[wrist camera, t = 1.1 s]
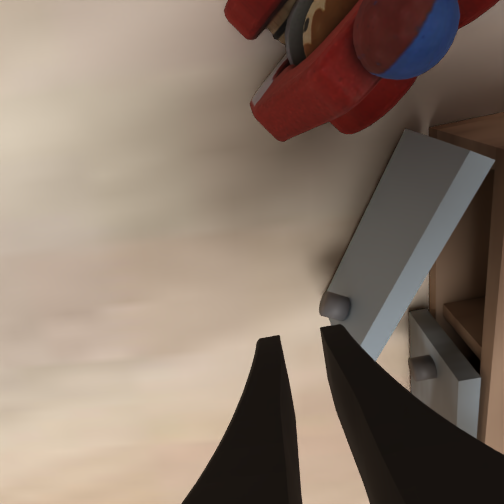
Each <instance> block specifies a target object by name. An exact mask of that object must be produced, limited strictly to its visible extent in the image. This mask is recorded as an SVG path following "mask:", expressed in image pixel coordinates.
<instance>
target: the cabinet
mask: <svg viewBox="0 0 504 504" xmlns="http://www.w3.org/2000/svg"><path fill="white" fill-rule="evenodd" d="M429 137H432V138H435V139H438V140H441V141H444V142H447V143H450V144H453V145H455V146H458V147H461V148H464V149H467V150H470V151H473V152H475V153H478V154H481V155H483V156H486V157H489V158H491V159H494V160H495V162H494V164H493V165H492V167H491V169H490V170H489V172H488V174H487V175H486V177H485V179H484V180H483V182H482V184H481V185H480V187H479V189H478V190H477V192H476V194H475V195H474V197H473V199H472V200H471V202H470V204H469V205H468V207H467V209H466V211H465V212H464V214H463V216H462V217H461V219H460V221H459V222H458V224H457V226H456V227H455V229H454V231H453V232H452V234H451V236H450V237H449V239H448V241H447V242H446V244H445V246H444V247H443V249H442V251H441V252H440V254H439V256H438V257H437V259H436V261H435V263H434V264H433V266H432V268H431V269H430V271H429V311H428V310H427V309H421V310H416V311H410V312H409V328H410V358H409V359H408V364H409V369H410V372H411V393H412V394H413V395H414V396H415V397H417V398H418V399H419V400H420V401H422V402H423V403H424V404H426V405H427V406H428V407H430V408H431V409H432V410H434V411H435V412H437V413H438V414H439V415H441V416H442V417H444V418H445V419H447V420H448V421H450V422H451V423H453V424H454V425H455V426H457V427H458V428H460V429H462V430H463V431H465V432H467V433H468V434H470V435H472V436H473V437H475V438H476V439H478V440H480V441H481V442H483V443H485V444H486V445H488V446H490V447H491V448H493V449H494V450H496V451H498V452H500V453H502V454H504V112H501V113H496V114H491V115H486V116H482V117H477V118H472V119H467V120H462V121H457V122H453V123H448V124H443V125H438V126H433V127H429Z"/></svg>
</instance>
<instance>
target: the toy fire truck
mask: <svg viewBox="0 0 504 504" xmlns="http://www.w3.org/2000/svg"><path fill="white" fill-rule="evenodd" d="M498 1H499V0H228V2H227V4H226V6H225V9H224V13H225V16H226V18H227V20H228V21H229V22H230V23H231V24H232V25H233V26H234V27H235V28H236V29H237V30H238V31H239V32H240V33H241V34H242V35H243V36H244V37H245V38H246V39H248V40H254V39H256V38H257V37H258V36H259V35H260V33H261V32H262V31H263V30H264V29H265V28H267V29H269V30H270V32H271V33H272V34H273V37H274V39H277V40H279V41H280V42H281V43H282V44H284V45H286V55H285V56H284V57H283V58H282V59H281V61H280V62H279V63H278V65H277V66H276V67H275V69H274V70H273V71H272V72H271V74H270V75H269V76H268V77H267V79H266V80H265V81H264V82H263V84H262V85H261V86H260V87H259V89H258V90H257V92H256V93H255V94H254V96H253V97H252V99H251V102H250V106H251V109H252V113H253V115H254V117H255V118H256V119H257V120H258V121H259V123H260V124H261V125H262V126H263V127H264V128H265V129H266V130H267V131H268V132H269V133H271V134H272V135H273V136H274V137H275V138H276V139H277V140H278V141H281V142H283V141H286V140H288V139H290V138H292V137H294V136H297V135H299V134H301V133H304V132H306V131H309V130H311V129H313V128H315V127H317V126H320V125H322V124H324V123H327V122H330V123H331V124H332V125H334V126H335V127H336V128H337V129H338V130H339V131H340V132H342V133H344V134H353V133H357V132H359V131H361V130H363V129H365V128H367V127H369V126H370V125H372V124H373V123H375V122H376V121H377V120H379V119H380V118H381V117H383V116H384V115H385V114H386V113H387V112H388V111H389V110H390V109H392V108H393V107H394V106H395V105H396V104H397V103H398V101H399V100H400V99H401V98H402V97H403V96H404V95H405V94H406V93H407V91H408V90H409V89H410V87H411V86H412V85H413V83H414V82H415V80H416V78H417V76H419V75H421V74H423V73H425V72H426V71H428V70H429V69H431V68H432V67H434V66H435V65H436V64H437V63H438V62H439V61H440V60H441V59H442V58H443V57H444V55H445V54H446V53H447V51H448V50H449V48H450V46H451V45H452V43H453V40H454V38H455V35H456V33H457V30H458V29H459V28H461V27H463V26H465V25H467V24H469V23H470V22H472V21H473V20H475V19H476V18H478V17H479V16H480V15H482V14H483V13H485V12H486V11H487V10H489V9H490V8H491V7H492V6H494V5H495V4H496V3H497V2H498Z"/></svg>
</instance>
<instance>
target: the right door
mask: <svg viewBox="0 0 504 504" xmlns="http://www.w3.org/2000/svg"><path fill="white" fill-rule="evenodd" d="M494 162H495V160H494V159H491V158H489V157H486V156H483V155H481V154H478V153H475V152H473V151H470V150H467V149H464V148H461V147H458V146H455V145H453V144H450V143H447V142H444V141H441V140H438V139H435V138H432V137H429V136H426V135H423V134H420V133H418V132H415V131H412V130H409V129H406V128H405V130H404V132H403V134H402V136H401V138H400V140H399V142H398V144H397V147H396V149H395V151H394V153H393V155H392V157H391V159H390V161H389V163H388V165H387V167H386V169H385V171H384V173H383V176H382V178H381V180H380V182H379V184H378V186H377V188H376V190H375V192H374V194H373V196H372V198H371V200H370V202H369V205H368V207H367V209H366V211H365V213H364V215H363V217H362V219H361V221H360V223H359V225H358V227H357V229H356V231H355V234H354V236H353V238H352V240H351V242H350V244H349V246H348V248H347V250H346V252H345V254H344V256H343V258H342V260H341V263H340V265H339V267H338V269H337V271H336V273H335V275H334V277H333V279H332V281H331V283H330V285H329V287H328V289H327V291H326V292H325V293H324V294H323V296H322V298H321V301H320V306H319V313H320V315H321V316H324V317H328V318H329V320H330V323H331V326H332V325H337V324H341V325H343V326H344V327H345V328H346V330H347V331H348V332H349V333H350V335H351V336H352V337H353V338H354V339H355V340H356V342H357V343H358V344H359V345H360V346H361V347H362V348H363V349H364V350H365V351H366V352H367V353H368V354H369V355H370V356H371V357H372V358H373V359H374V360H375V361H376V360H377V358H378V356H379V355H380V353H381V351H382V350H383V348H384V346H385V345H386V343H387V341H388V340H389V338H390V336H391V335H392V333H393V331H394V330H395V328H396V326H397V325H398V323H399V321H400V320H401V318H402V316H403V315H404V313H405V311H406V310H407V308H408V306H409V304H410V303H411V301H412V299H413V298H414V296H415V294H416V293H417V291H418V289H419V288H420V286H421V284H422V283H423V281H424V279H425V278H426V276H427V274H428V273H429V271H430V269H431V268H432V266H433V264H434V263H435V261H436V259H437V257H438V256H439V254H440V252H441V251H442V249H443V247H444V246H445V244H446V242H447V241H448V239H449V237H450V236H451V234H452V232H453V231H454V229H455V227H456V226H457V224H458V222H459V221H460V219H461V217H462V216H463V214H464V212H465V211H466V209H467V207H468V205H469V204H470V202H471V200H472V199H473V197H474V195H475V194H476V192H477V190H478V189H479V187H480V185H481V184H482V182H483V180H484V179H485V177H486V175H487V174H488V172H489V170H490V169H491V167H492V165H493V164H494Z"/></svg>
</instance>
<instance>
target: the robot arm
mask: <svg viewBox="0 0 504 504" xmlns="http://www.w3.org/2000/svg"><path fill="white" fill-rule="evenodd" d="M320 331H321V337H322V344H323V351H324V357H325V364H326V370H327V377H328V381H329V385H330V389H331V393H332V397H333V401H334V404H335V408H336V411H337V414H338V417H339V420H340V422H341V425H342V428H343V430H344V433H345V436H346V438H347V441H348V444H349V446H350V449H351V452H352V454H353V457H354V459H355V462H356V465H357V467H358V470H359V473H360V475H361V478H362V481H363V483H364V486H365V489H366V492H367V495H368V498H369V502H370V504H504V454H502V453H500V452H498V451H496V450H494V449H493V448H491V447H490V446H488V445H486V444H485V443H483V442H481V441H480V440H478V439H476V438H475V437H473V436H472V435H470V434H468V433H467V432H465V431H463V430H462V429H460V428H458V427H457V426H455V425H454V424H453V423H451V422H450V421H448V420H447V419H445V418H444V417H442V416H441V415H439V414H438V413H437V412H435V411H434V410H432V409H431V408H430V407H428V406H427V405H426V404H424V403H423V402H422V401H420V400H419V399H418V398H417V397H415V396H414V395H413V394H412V393H410V392H409V391H408V390H407V389H405V388H404V387H403V386H402V385H401V384H400V383H398V382H397V381H396V380H395V379H394V378H393V377H392V376H390V375H389V374H388V373H387V372H386V371H385V370H384V369H383V368H382V367H381V366H380V365H379V364H378V363H377V362H376V361H375V360H374V359H373V358H372V357H371V356H370V355H369V354H368V353H367V352H366V351H365V350H364V349H363V348H362V347H361V346H360V345H359V344H358V343H357V342H356V340H355V339H354V338H353V337H352V336H351V335H350V333H349V332H348V331H347V330H346V328H345V327H344V326H343V325H341V324H337V325H332V326H326V327H321V328H320ZM182 504H302V496H301V485H300V471H299V458H298V444H297V431H296V418H295V412H294V406H293V400H292V395H291V389H290V383H289V379H288V374H287V369H286V364H285V360H284V355H283V350H282V345H281V341H280V336H279V335H277V336H271V337H266V338H260V339H259V340H258V341H257V344H256V350H255V355H254V359H253V363H252V366H251V370H250V373H249V376H248V379H247V382H246V385H245V388H244V391H243V393H242V396H241V398H240V401H239V403H238V406H237V408H236V410H235V413H234V415H233V417H232V420H231V422H230V424H229V426H228V428H227V430H226V432H225V434H224V436H223V438H222V440H221V442H220V444H219V446H218V447H217V449H216V451H215V453H214V454H213V456H212V458H211V459H210V461H209V463H208V465H207V466H206V468H205V470H204V471H203V473H202V474H201V476H200V478H199V479H198V481H197V482H196V484H195V485H194V487H193V488H192V489H191V491H190V492H189V494H188V495H187V497H186V498H185V499H184V501H183V502H182Z"/></svg>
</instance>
